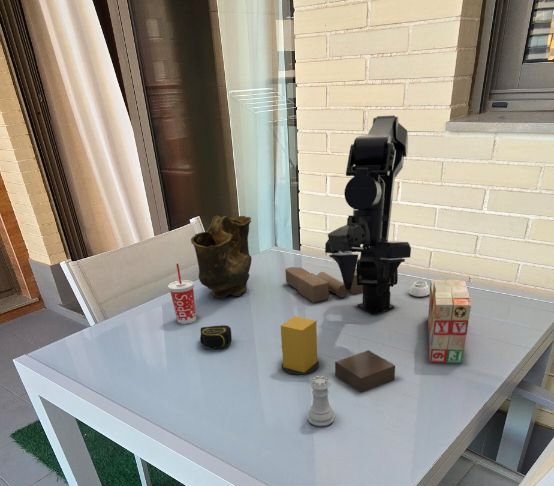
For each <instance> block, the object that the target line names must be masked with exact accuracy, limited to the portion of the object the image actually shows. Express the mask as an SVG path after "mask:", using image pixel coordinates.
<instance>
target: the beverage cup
mask: <svg viewBox="0 0 554 486" xmlns="http://www.w3.org/2000/svg"><path fill="white" fill-rule="evenodd" d="M175 266H176V271H177V275H178V276H177V277H178V280H175V281H173V282H170V283H169V284H168V285H167V288H168V291H169V293H170V296H171V300H172V305H173V308H174V313H175V316H176V320H177V323H179V324H182V325H186V324H187V325H188V324H191V323H194V322H196V321H197V312H196V302H195V293H194V292H195V291H194V288H195V283H194V281H192V280H189V279H188V280H187V279H182V276H181V271H180V266H179V263H178V262H176V263H175Z"/></svg>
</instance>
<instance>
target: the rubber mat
mask: <svg viewBox="0 0 554 486" xmlns="http://www.w3.org/2000/svg"><path fill="white" fill-rule="evenodd" d="M319 367H320V361H319V360H317V363H316V364H315V365H313V366H312V367H311V368H310V369H308V370H307V371H306V372H304V373H303V372H300V371H296V370H292V369H289V368H285V367H283V362H282V363H281V370H282V371H283V372H284V373H286V374H289V375H291V376H292V375H293V376H306V375H309V374H313V373H314V372H316V371H317V370H318V369H319Z"/></svg>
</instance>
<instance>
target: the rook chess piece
mask: <svg viewBox="0 0 554 486" xmlns="http://www.w3.org/2000/svg"><path fill="white" fill-rule="evenodd" d="M309 384H310V385H309V386H310V387H311V389H312V391H311V394H312V405H311V406H310V409H308V414H307V415H308V417H307V420H308V422H309V423H310V424H311V425H312V426H315V427H328V426H329V425H331V424H332V423H333V421H334V420H335V416H334V415H335V412H334V409H333V407H332V406H331V405H330V401H329V394H330V391H329V387H331V383H330V381H329V377H327V376H325V375H321V377H320V375H316V376H315V377H313V378H312V381H311V383H309Z"/></svg>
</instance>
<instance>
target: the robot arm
mask: <svg viewBox="0 0 554 486" xmlns="http://www.w3.org/2000/svg"><path fill="white" fill-rule="evenodd" d="M408 132H409V131H408V130H407V129H406V128H405V126H404V125H402V124H401V123H400V121H399V116H396V115H393V114H392V115H377V116H376V117H373V119H372V125H371V127H370V129H369V131H368V132H367V134H363V135H359V136H357V137H356V138H354V141H353V143H352V144H351V145H350V148H349V152H348V153H349V154H348V158H347V159H348V160H347V164H346V169H345V176H346V177H351V178H350V179H349V180H348V182H347V183H346V185H345V188H344V192H343V193H344V199H345V202H346V203H347V206H349V208H351V209H352V215H348V217H347V219H346V224H345V225H342V226H340V227H338V228H336V229H335V230H333V231H331V232H329V233H327V238H328V239H327V240H326V242H325V247H324V253H325V254H329V255H328V257H329V258H332V260H334V262H336V264H337V266H338V268H339V271H340V275H341V278H342V283H343V282H344V285H345V289H346V290H350V289H351V286H352V283H353V278H354V274H355V269H357V270H356V271H357V285H363V292H362V302H361V303H358V304H357V308H359V309H361V310H363V311H364V312H365V311H366V312H367V313H369V314H371V315H377V314H380V313H383V312H386V311H390V310H392V309H395V306H394V305H393V304H391V288H393V287H394V286H396V285H398V280H399V279H398V278H399V272H398V271H399V270H398V269H399V266H400V265H401V263H405V262H406V259H409V258H411V253H412V252H411V251H412V246H411V245H410V243H409V242H408V241H400V240H399V241H397V240H392V241H391V240H389V237H390V227H391V216H392V208H393V199H394V189H395V179H396V178H397V176H398V175H399V174H400V172H401V171H402V169H404V163H405V158H407V157H408V151H409V135H408ZM358 253H360V256H359V254H358Z"/></svg>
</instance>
